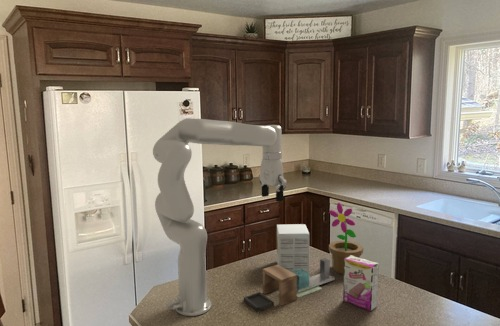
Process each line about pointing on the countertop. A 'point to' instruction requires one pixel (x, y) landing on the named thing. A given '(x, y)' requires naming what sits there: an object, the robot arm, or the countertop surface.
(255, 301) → the tray
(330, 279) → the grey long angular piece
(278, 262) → the supplement box
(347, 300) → the candy bar box
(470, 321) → the countertop surface
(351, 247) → the flowerpot
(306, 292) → the board
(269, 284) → the tunnel
